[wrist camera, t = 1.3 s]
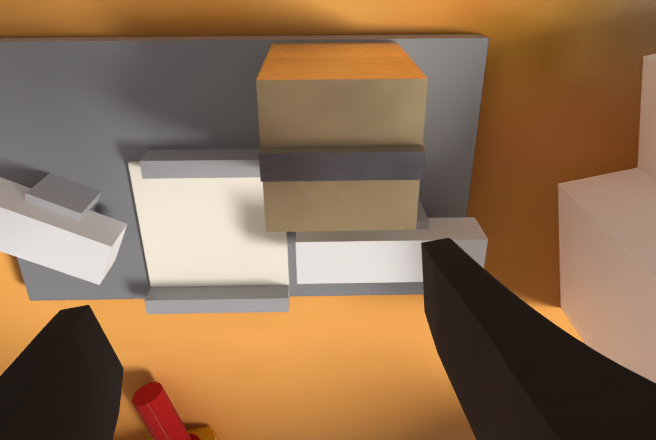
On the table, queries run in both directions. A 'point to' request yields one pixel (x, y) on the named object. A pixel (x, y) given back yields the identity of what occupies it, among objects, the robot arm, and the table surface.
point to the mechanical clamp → (165, 416)
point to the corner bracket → (614, 251)
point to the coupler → (340, 136)
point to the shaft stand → (202, 174)
